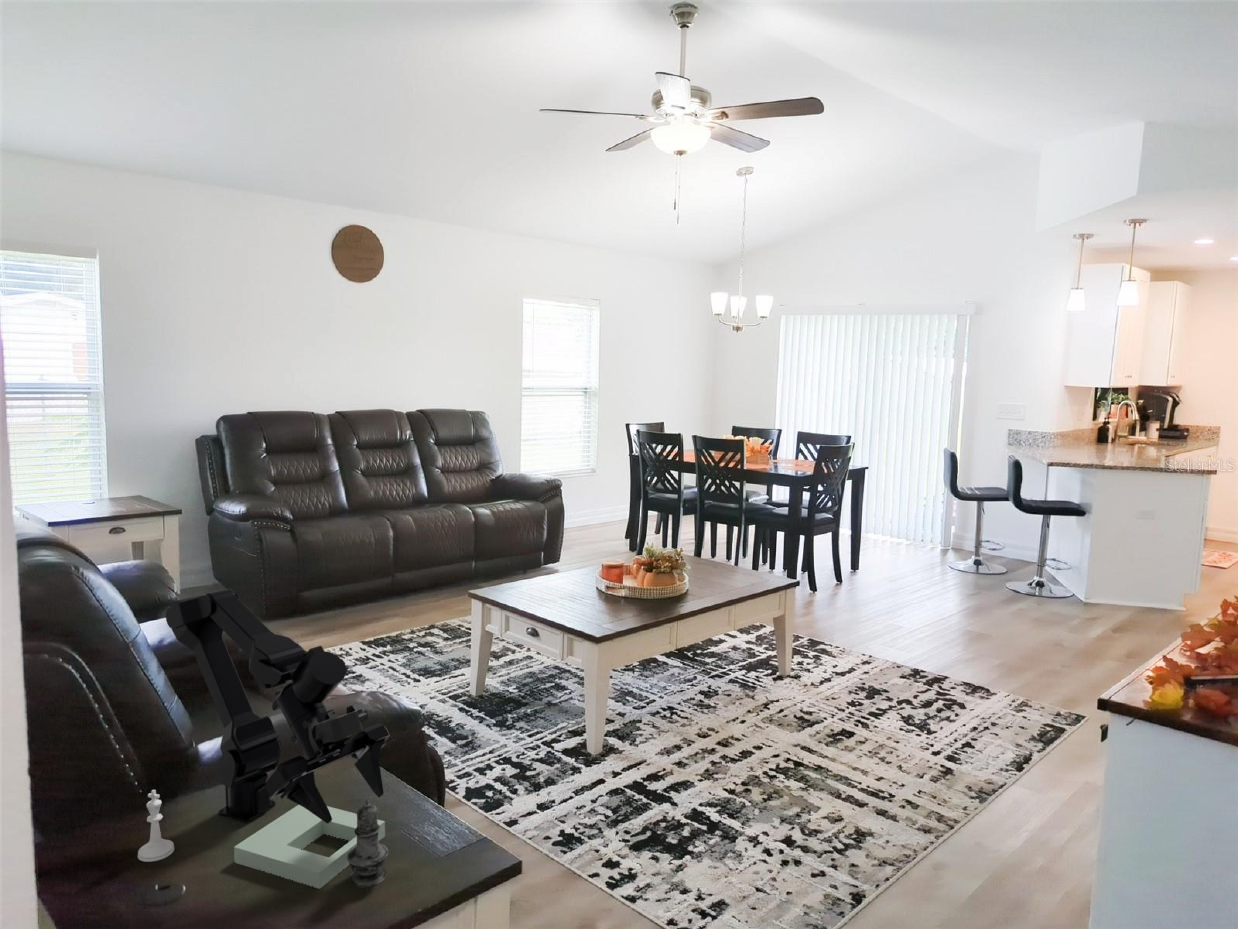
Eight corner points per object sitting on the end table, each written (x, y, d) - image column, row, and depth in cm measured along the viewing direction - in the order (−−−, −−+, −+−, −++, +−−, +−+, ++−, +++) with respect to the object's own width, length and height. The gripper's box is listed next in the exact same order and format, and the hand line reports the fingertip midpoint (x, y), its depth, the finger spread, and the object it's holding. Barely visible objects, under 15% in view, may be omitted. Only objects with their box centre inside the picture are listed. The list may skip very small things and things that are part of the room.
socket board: (234, 862, 128) (234, 847, 127) (305, 814, 141) (305, 800, 141) (319, 889, 122) (319, 872, 121) (385, 836, 136) (384, 821, 135)
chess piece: (158, 864, 127) (155, 800, 126) (130, 859, 128) (126, 796, 127) (181, 846, 132) (179, 784, 130) (154, 841, 133) (151, 781, 131)
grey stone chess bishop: (396, 876, 125) (395, 799, 124) (360, 894, 121) (359, 814, 119) (375, 860, 129) (374, 785, 128) (339, 876, 125) (338, 799, 123)
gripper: (274, 711, 119) (325, 810, 114) (381, 673, 134) (430, 759, 129) (244, 749, 124) (291, 846, 119) (350, 709, 139) (396, 793, 134)
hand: (356, 808), depth 125 cm, fingers open, 9 cm apart
